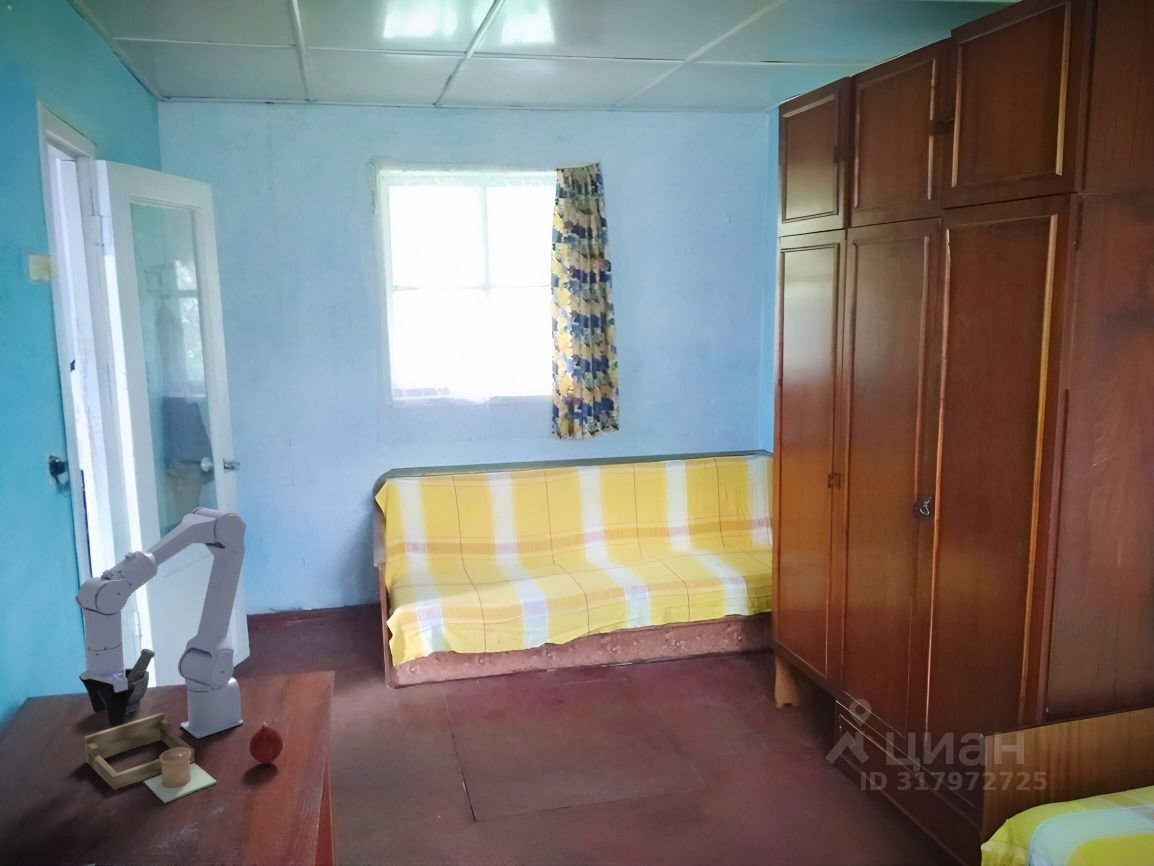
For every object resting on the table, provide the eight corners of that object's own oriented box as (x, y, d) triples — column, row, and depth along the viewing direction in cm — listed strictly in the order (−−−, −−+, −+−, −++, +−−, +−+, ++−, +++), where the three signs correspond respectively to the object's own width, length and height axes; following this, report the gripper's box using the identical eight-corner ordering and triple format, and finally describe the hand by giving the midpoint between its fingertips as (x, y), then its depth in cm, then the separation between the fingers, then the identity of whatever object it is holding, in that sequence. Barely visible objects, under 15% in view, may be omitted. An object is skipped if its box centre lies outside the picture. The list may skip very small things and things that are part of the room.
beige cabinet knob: (185, 770, 159) (184, 744, 158) (197, 781, 156) (196, 754, 155) (156, 780, 155) (154, 754, 155) (167, 791, 152) (166, 764, 151)
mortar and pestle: (102, 723, 177) (99, 666, 176) (94, 706, 185) (91, 651, 183) (162, 709, 184) (159, 654, 183) (152, 693, 192) (149, 640, 190)
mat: (194, 764, 162) (194, 762, 162) (216, 783, 156) (216, 780, 156) (143, 783, 155) (143, 781, 155) (164, 802, 149) (164, 800, 149)
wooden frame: (163, 736, 172) (162, 712, 172) (194, 761, 163) (193, 736, 162) (85, 762, 162) (84, 736, 161) (114, 790, 153) (112, 763, 152)
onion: (290, 760, 164) (288, 720, 163) (267, 774, 159) (265, 733, 158) (266, 753, 166) (265, 713, 165) (243, 767, 161) (241, 726, 160)
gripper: (65, 639, 158) (70, 711, 159) (94, 662, 148) (99, 738, 150) (107, 630, 163) (111, 699, 165) (138, 651, 153) (142, 725, 155)
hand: (108, 717), depth 157 cm, fingers open, 7 cm apart
